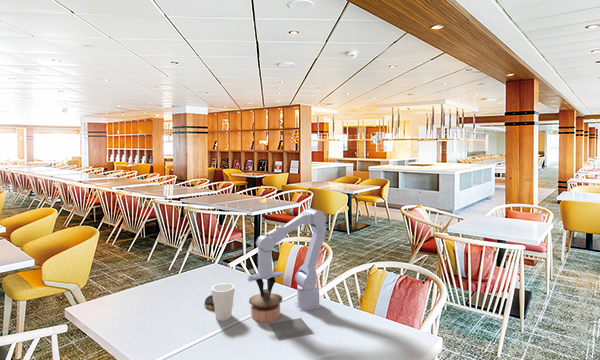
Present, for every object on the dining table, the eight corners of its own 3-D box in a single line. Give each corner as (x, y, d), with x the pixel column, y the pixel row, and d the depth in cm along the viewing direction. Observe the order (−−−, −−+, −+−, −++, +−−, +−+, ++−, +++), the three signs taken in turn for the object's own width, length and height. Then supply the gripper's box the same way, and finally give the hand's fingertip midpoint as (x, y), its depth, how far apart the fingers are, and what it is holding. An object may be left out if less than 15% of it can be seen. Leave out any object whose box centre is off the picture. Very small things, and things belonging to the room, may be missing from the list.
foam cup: (229, 323, 152) (228, 292, 151) (208, 321, 154) (207, 290, 153) (238, 313, 161) (237, 284, 160) (218, 311, 163) (217, 282, 162)
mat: (300, 318, 156) (300, 317, 156) (313, 334, 143) (313, 333, 143) (268, 324, 151) (268, 323, 151) (279, 341, 138) (279, 340, 138)
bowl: (275, 307, 167) (275, 297, 166) (283, 319, 156) (283, 308, 155) (248, 312, 163) (248, 302, 162) (255, 324, 151) (255, 313, 151)
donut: (232, 300, 175) (232, 292, 175) (225, 311, 164) (225, 302, 163) (209, 299, 176) (209, 291, 176) (200, 310, 165) (200, 301, 164)
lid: (276, 293, 167) (276, 284, 167) (286, 303, 154) (286, 293, 154) (245, 297, 162) (245, 288, 162) (253, 308, 149) (253, 298, 149)
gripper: (250, 269, 151) (250, 301, 152) (284, 265, 156) (284, 296, 157) (246, 264, 157) (247, 295, 159) (279, 260, 162) (279, 290, 164)
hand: (265, 295), depth 158 cm, fingers closed on lid, 2 cm apart
